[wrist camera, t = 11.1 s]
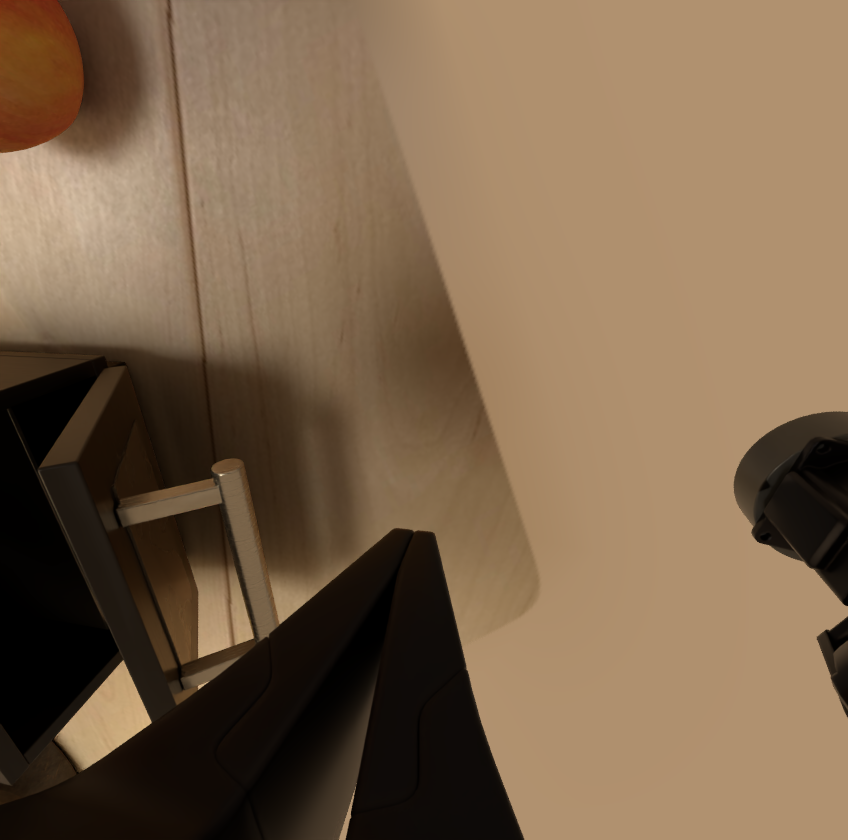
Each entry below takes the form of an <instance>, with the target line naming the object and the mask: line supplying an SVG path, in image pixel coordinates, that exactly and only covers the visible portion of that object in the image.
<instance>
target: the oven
mask: <svg viewBox="0 0 848 840" xmlns="http://www.w3.org/2000/svg"><path fill="white" fill-rule="evenodd" d="M118 366H126V363H125V362H111V361H106V359H105V356H102V355H79V354H56V353H33V352H10V351H0V783H3V784H7V785H11V786H12V785H13V784H14V783H15V782H16V781H17V780H18V779H19V777H20V776H21V775H22V774H23V773H24V772H25V771H26V769H27V768H28V767H29V766H30V765H29V764H31V763H32V762H33V761H34V760H35V759H36V758H37V757H38V756H39V754H40V753H41V752H42V751H43V750H44V749H45V748H46V746H47V745H48V744H49V743H50V742H51V741H52V740H53V739H54V737H55V736H56V735H57V734H58V733H59V732H60V731H61V730H62V728H63V727H64V726H65V725H66V724H67V723H68V722H69V720H70V719H71V718H72V717H73V716H74V715H75V714H76V713H77V711H78V710H79V709H80V708H81V707H82V706H83V705H84V704H85V702H86V701H87V700H88V699H89V698H90V697H91V696H92V694H93V693H94V692H95V691H96V690H97V689H98V688H99V687H100V685H101V684H102V683H103V682H104V681H105V680H106V679H107V678H108V676H109V675H110V674H111V673H112V672H113V671H114V670H115V668H116V667H117V666H118V665H119V664H120V663H121V662H122V661H123V658H122V655H121V653H120V651H119V649H118V647H117V644H116V642H115V640H114V638H113V636H112V633H111V631H110V629H109V627H108V625H107V622H106V620H105V618H104V616H103V614H102V611H101V609H100V607H99V605H98V603H97V600H96V598H95V596H94V594H93V592H92V589H91V587H90V585H89V583H88V581H87V578H86V576H85V574H84V572H83V570H82V567H81V565H80V563H79V561H78V559H77V556H76V554H75V552H74V550H73V548H72V545H71V543H70V541H69V539H68V537H67V534H66V532H65V530H64V528H63V526H62V523H61V521H60V519H59V517H58V515H57V512H56V510H55V508H54V506H53V504H52V501H51V499H50V497H49V495H48V493H47V490H46V488H45V486H44V484H43V482H42V479H41V477H40V475H39V473H38V468H39V466H40V465H41V463H42V462H43V460H44V458H45V457H46V455H47V454H48V452H49V451H50V449H51V448H52V446H53V445H54V443H55V442H56V440H57V439H58V437H59V436H60V434H61V433H62V431H63V430H64V428H65V427H66V425H67V424H68V422H69V420H70V419H71V417H72V416H73V414H74V413H75V411H76V410H77V408H78V407H79V405H80V404H81V402H82V401H83V399H84V398H85V396H86V395H87V393H88V392H89V390H90V389H91V387H92V386H93V384H94V382H95V381H96V379H97V378H98V376H99V375H100V373H101V372H102V370H103V369H104V368H110V367H118Z"/></svg>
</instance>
